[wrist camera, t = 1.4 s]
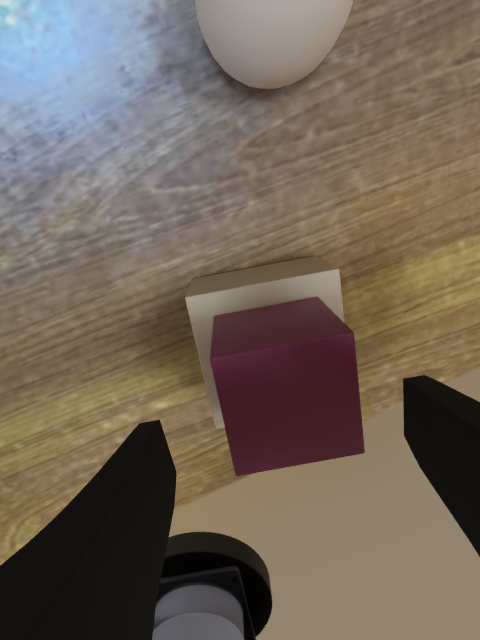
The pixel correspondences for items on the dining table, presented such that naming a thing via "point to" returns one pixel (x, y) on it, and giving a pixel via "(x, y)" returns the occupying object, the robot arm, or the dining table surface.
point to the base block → (255, 301)
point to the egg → (271, 37)
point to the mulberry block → (286, 385)
